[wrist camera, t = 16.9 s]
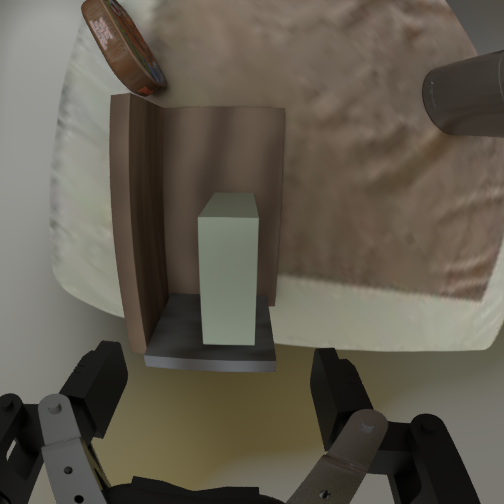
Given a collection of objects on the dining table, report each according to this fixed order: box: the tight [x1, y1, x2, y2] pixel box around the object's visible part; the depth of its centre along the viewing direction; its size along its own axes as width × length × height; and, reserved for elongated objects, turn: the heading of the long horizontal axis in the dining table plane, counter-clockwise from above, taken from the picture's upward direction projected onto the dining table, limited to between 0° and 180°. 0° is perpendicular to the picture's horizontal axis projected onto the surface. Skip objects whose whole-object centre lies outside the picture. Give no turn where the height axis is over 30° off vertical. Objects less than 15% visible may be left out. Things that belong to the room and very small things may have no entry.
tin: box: [81, 0, 166, 97], centre depth 24 cm, size 15×3×8 cm, turn 28°
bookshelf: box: [109, 93, 285, 372], centre depth 27 cm, size 14×22×14 cm, turn 178°
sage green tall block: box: [198, 192, 259, 345], centre depth 27 cm, size 4×10×12 cm, turn 179°
